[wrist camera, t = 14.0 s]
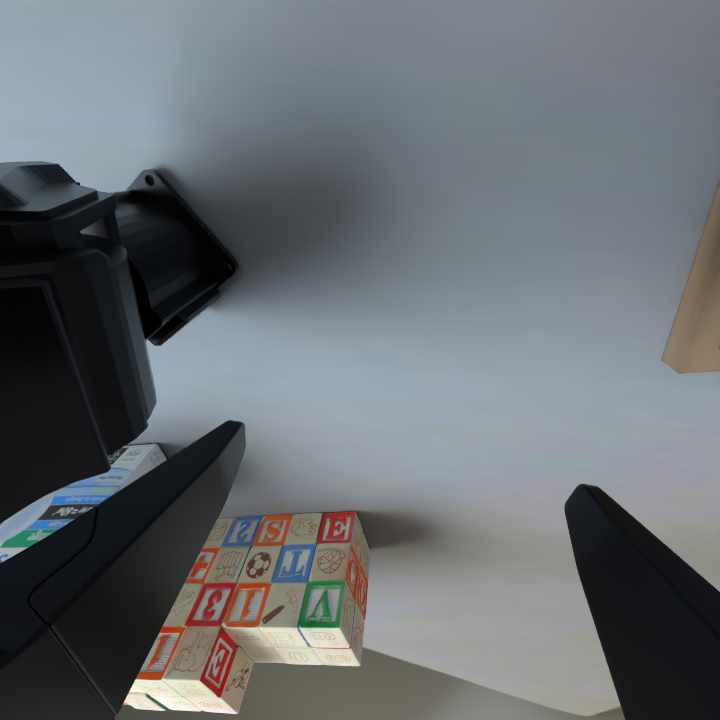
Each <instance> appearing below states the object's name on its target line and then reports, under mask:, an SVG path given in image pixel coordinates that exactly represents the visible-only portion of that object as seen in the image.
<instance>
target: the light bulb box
mask: <svg viewBox="0 0 720 720" xmlns="http://www.w3.org/2000/svg"><path fill="white" fill-rule="evenodd" d="M108 458H109V461H110V464H111V469H110V470H109V471H108V472H107V473H104V474H101V475H97V476H94V477H91V478H87V479H84V480H81V481H77V482H74V483H72V484H70V485H68V486H66V487H63V488H61V489H59V490H57V491H54V492H52V493H50V494H48V495H46V496H44V497H42V498H41V499H39V500H37V501H35V502H34V503H32V504H30V505H29V506H27V507H25V508H24V509H22V510H21V511H19V512H18V513H16V514H15V515H13V516H11V517H10V518H8V519H7V520H5V521H4V522H2V523H1V524H0V563H1V562H3V561H5V560H7V559H9V558H10V557H12V556H14V555H16V554H17V553H19V552H21V551H23V550H24V549H26V548H28V547H30V546H31V545H33V544H35V543H37V542H38V541H40V540H42V539H43V538H45V537H47V536H49V535H50V534H52V533H53V532H55V531H57V530H58V529H60V528H62V527H63V526H65V525H66V524H68V523H70V522H71V521H73V520H74V519H76V518H78V517H79V516H81V515H82V514H84V513H85V512H87V511H88V510H90V509H91V508H93V507H95V506H97V507H98V505H99V504H100V503H101V502H103V501H104V500H106V499H107V498H109V497H110V496H112V495H113V494H115V493H116V492H118V491H120V490H121V489H123V488H124V487H126V486H127V485H129V484H130V483H132V482H133V481H135V480H137V479H138V478H140V477H141V476H143V475H144V474H146V473H147V472H149V471H150V470H152V469H154V468H155V467H157V466H158V465H160V464H161V463H163V462H164V461H166V460H167V459H166V457H165V455H164V454H163V452H162V451H161V449H160V447H159V446H158V445H157V444H146V445H132V446H124V447H122V448H121V449H119V450H118V451H116V452H114V453H113V454H111V455H110V456H108Z"/></svg>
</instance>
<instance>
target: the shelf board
mask: <svg viewBox="0 0 720 720" xmlns="http://www.w3.org/2000/svg"><path fill="white" fill-rule="evenodd" d="M719 346H720V183H719V186H718V189H717V192H716V195H715V198H714V201H713V204H712V207H711V210H710V213H709V216H708V220H707V223H706V226H705V229H704V232H703V235H702V238H701V241H700V244H699V247H698V250H697V253H696V256H695V259H694V262H693V265H692V268H691V271H690V275H689V278H688V281H687V284H686V287H685V290H684V293H683V296H682V299H681V302H680V305H679V308H678V311H677V314H676V317H675V320H674V323H673V327H672V330H671V333H670V336H669V339H668V342H667V345H666V348H665V351H664V354H663V357H662V361H663V362H665V363H666V364H667V365H669V366H670V367H671V368H672V369H674V370H675V371H676V372H677V373H679V374H680V373H695V372H710V371H720V349H719Z"/></svg>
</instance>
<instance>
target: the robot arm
mask: <svg viewBox="0 0 720 720" xmlns="http://www.w3.org/2000/svg"><path fill="white" fill-rule="evenodd" d="M150 176H152V177H153V179H154V182H155V183H154V185H153V184H152V183H151V182H150ZM226 263H229V264H230V265H231V266H232V270H231V269H228V268H227V266H226ZM238 268H239V266H238V263H237V261H236V260H235V258H234V257H233V256H232V255H231V254H230V253H229V252H228V251H227V249H226V248H225V247H224V246H223V245H222V244H221V243H220V241H219V240H218V239H217V238H216V237H215V236H214V235H213V234H212V232H211V231H210V230H209V229H208V228H207V227H206V226H205V224H204V223H203V222H202V221H201V220H200V219H199V218H198V216H197V215H196V214H195V213H194V212H193V211H192V210H191V209H190V207H189V206H188V205H187V204H186V203H185V202H184V201H183V199H182V198H181V197H180V196H179V195H178V194H177V193H176V191H175V190H174V189H173V188H172V187H171V186H170V185H169V184H168V182H167V181H166V180H165V179H164V178H163V177H162V176H161V174H160V173H158V172H157V171H156V170H153V169H150V170H144V171H142V172H141V173H140V174H139V176H138V177H137V178H136V179H135V180H134V182H133V183H132V184H131V185H130V186H129V188H128V189H127V190H126V191H121V192H114V193H106V192H100V191H97V190H96V189H92V188H88V187H84V186H80V183H79V182H76V181H75V180H74V179H73V178H72V177H71V176H70V175H69V174H68V173H67V172H66V171H65V170H64V169H63V168H62V167H61V166H60V165H59V164H55V163H49V162H43V161H36V162H6V163H0V524H1V523H2V522H4V521H5V520H7V519H8V518H10V517H11V516H13V515H15V514H16V513H18V512H19V511H21V510H22V509H24V508H25V507H27V506H29V505H30V504H32V503H34V502H35V501H37V500H39V499H41V498H42V497H44V496H46V495H48V494H50V493H52V492H54V491H57V490H59V489H61V488H63V487H66V486H68V485H70V484H72V483H74V482H77V481H81V480H84V479H87V478H91V477H94V476H97V475H101V474H104V473H107V472H108V471H109V470H110V469H111V464H110V461H109V458H108V456H110V455H111V454H113V453H114V452H116V451H118V450H119V449H121V448H122V447H124V446H125V445H127V444H128V443H130V442H132V441H133V440H135V439H136V438H137V437H138V436H139V435H140V434H141V433H142V432H143V431H144V430H145V429H146V428H147V427H148V422H147V420H148V418H149V417H150V415H151V413H152V411H153V409H154V407H155V404H156V392H155V386H154V381H153V376H152V371H151V366H150V361H149V356H148V351H147V347H146V341H147V340H149V341H150V342H151V343H152V344H153V345H157V346H161V345H162V344H163V343H164V342H166V341H167V340H168V339H169V338H171V337H172V336H173V335H174V334H176V333H177V332H178V331H179V330H181V329H182V328H183V327H184V326H186V325H187V324H188V323H189V322H190V321H192V320H193V319H194V318H195V317H197V316H198V315H199V314H200V313H201V312H203V311H204V310H205V309H206V308H207V307H209V306H210V305H211V304H212V303H213V302H215V301H216V300H217V299H218V298H219V297H220V294H221V292H220V291H219V290H218V289H217V288H218V287H220V286H221V285H222V284H223V283H224V282H226V281H227V280H228V279H229V278H230V277H231V276H233V275H234V274H235V273H236V272H237V271H238ZM245 446H246V441H245V425H244V423H242V422H238V421H233V420H229V421H226V422H225V423H223V424H222V425H220V426H218V427H217V428H215V429H214V430H212V431H211V432H209V433H208V434H206V435H205V436H203V437H201V438H200V439H198V440H197V441H195V442H194V443H192V444H191V445H189V446H188V447H186V448H184V449H183V450H181V451H180V452H178V453H177V454H175V455H174V456H172V457H171V458H169V459H167V460H166V461H164V462H163V463H161V464H160V465H158V466H157V467H155V468H154V469H152V470H150V471H149V472H147V473H146V474H144V475H143V476H141V477H140V478H138V479H137V480H135V481H133V482H132V483H130V484H129V485H127V486H126V487H124V488H123V489H121V490H120V491H118V492H116V493H115V494H113V495H112V496H110V497H109V498H107V499H106V500H104V501H103V502H101V503H100V504H99V505H98V507H97V506H95V507H93V508H91V509H90V510H88V511H87V512H85V513H84V514H82V515H81V516H79V517H78V518H76V519H74V520H73V521H71V522H70V523H68V524H66V525H65V526H63V527H62V528H60V529H58V530H57V531H55V532H53V533H52V534H50V535H49V536H47V537H45V538H43V539H42V540H40V541H38V542H37V543H35V544H33V545H31V546H30V547H28V548H26V549H24V550H23V551H21V552H19V553H17V554H16V555H14V556H12V557H10V558H9V559H7V560H5V561H3V562H1V563H0V720H115V719H116V718H115V716H117V715H118V713H119V711H120V709H121V707H122V705H123V703H124V701H125V699H126V697H127V695H128V693H129V691H130V689H131V688H132V686H133V684H134V682H135V680H136V678H137V676H138V674H139V672H140V670H141V668H142V666H143V664H144V662H145V660H146V658H147V656H148V654H149V652H150V650H151V648H152V646H153V644H154V642H155V640H156V638H157V637H158V635H159V633H160V631H161V629H162V627H163V625H164V623H165V621H166V619H167V617H168V615H169V613H170V611H171V609H172V607H173V605H174V603H175V601H176V599H177V597H178V595H179V593H180V591H181V589H182V587H183V586H184V584H185V582H186V580H187V578H188V576H189V574H190V572H191V570H192V568H193V566H194V564H195V562H196V560H197V558H198V556H199V554H200V552H201V550H202V548H203V546H204V544H205V542H206V540H207V538H208V536H209V535H210V533H211V531H212V529H213V527H214V525H215V523H216V521H217V519H218V517H219V515H220V513H221V511H222V509H223V507H224V504H225V502H226V499H227V497H228V494H229V491H230V489H231V486H232V483H233V481H234V478H235V475H236V473H237V470H238V468H239V465H240V462H241V460H242V457H243V454H244V451H245ZM565 515H566V520H567V525H568V529H569V534H570V539H571V543H572V548H573V552H574V557H575V562H576V566H577V570H578V573H579V576H580V580H581V583H582V586H583V589H584V592H585V596H586V599H587V602H588V605H589V608H590V611H591V614H592V617H593V620H594V624H595V627H596V630H597V633H598V636H599V639H600V642H601V645H602V649H603V652H604V655H605V658H606V661H607V664H608V667H609V670H610V673H611V677H612V680H613V683H614V686H615V689H616V692H617V695H618V698H619V702H620V705H621V708H622V711H623V714H624V717H625V720H720V592H719V591H718V590H717V589H716V588H715V587H713V586H712V585H711V584H710V583H709V582H708V581H707V580H705V579H704V578H703V577H702V576H701V575H700V574H698V573H697V572H696V571H695V570H694V569H693V568H692V567H690V566H689V565H688V564H687V563H686V562H685V561H683V560H682V559H681V558H680V557H679V556H678V555H677V554H675V553H674V552H673V551H672V550H671V549H670V548H668V547H667V546H666V545H665V544H664V543H663V542H661V541H660V540H659V539H658V538H657V537H656V536H655V535H653V534H652V533H651V532H650V531H649V530H648V529H646V528H645V527H644V526H643V525H642V524H641V523H640V522H638V521H637V520H636V519H635V518H634V517H633V516H631V515H630V514H629V513H628V512H627V511H626V510H625V509H623V508H622V507H621V506H620V505H619V504H618V503H616V502H615V501H614V500H613V499H612V498H611V497H609V496H608V495H607V494H606V493H605V492H604V491H603V490H601V489H600V488H599V487H597V486H593V485H588V484H580V485H578V486H577V487H576V489H575V490H574V491H573V493H572V494H571V496H570V497H569V498H568V500H567V501H566V503H565Z"/></svg>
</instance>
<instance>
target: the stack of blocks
mask: <svg viewBox="0 0 720 720" xmlns="http://www.w3.org/2000/svg"><path fill="white" fill-rule="evenodd" d="M369 557H370V549H369V547H368V544H367V541H366V538H365V536H364V533H363V529H362V527H361V524H360V521H359V519H358V516H357V514H356V512H354V511H352V512H337V513H325V514H323V513H303V514H294V515H292V514H285V515H265V516H255V517H237V518H224V519H217V521H216V523H215V525H214V527H213V529H212V531H211V533H210V535H209V536H208V538H207V540H206V542H205V544H204V546H203V548H202V550H201V552H200V554H199V556H198V558H197V560H196V562H195V564H194V566H193V568H192V570H191V572H190V574H189V576H188V578H187V580H186V582H185V584H184V586H183V587H182V589H181V591H180V593H179V595H178V597H177V599H176V601H175V603H174V605H173V607H172V609H171V611H170V613H169V615H168V617H167V619H166V621H165V623H164V625H163V627H162V629H161V631H160V633H159V635H158V637H157V638H156V640H155V642H154V644H153V646H152V648H151V650H150V652H149V654H148V656H147V658H146V660H145V662H144V664H143V666H142V668H141V670H140V672H139V674H138V676H137V678H136V680H135V682H134V684H133V686H132V688H131V689H130V691H129V693H128V695H127V697H126V699H125V701H124V703H123V704H125V705H131V706H133V707H134V708H136V709H148V710H160V711H165V710H167V708H169V709H172V710H186V711H202V710H203V711H205V712H219V713H233V714H238V712H239V709H240V705H241V702H242V699H243V696H244V693H245V689H246V686H247V683H248V680H249V676H250V673H251V670H252V667H253V663H254V662H262V663H287V664H306V665H307V664H308V665H309V664H310V665H323V664H325V665H340V666H360V665H361V656H362V644H363V633H364V620H365V615H366V603H367V589H368V572H369Z"/></svg>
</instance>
